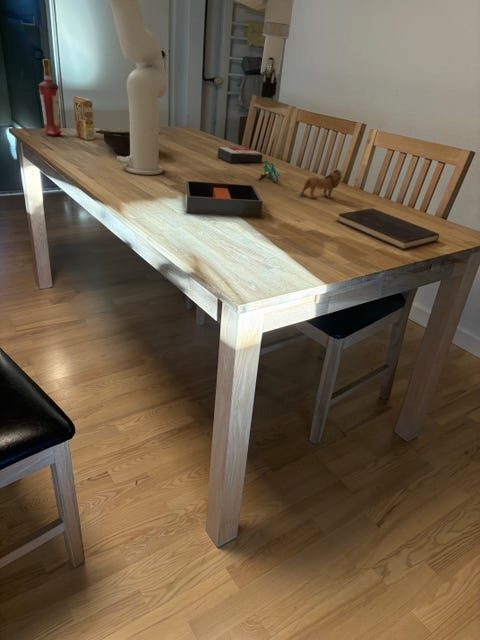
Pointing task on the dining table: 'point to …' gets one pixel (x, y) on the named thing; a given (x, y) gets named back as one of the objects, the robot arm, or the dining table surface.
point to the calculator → (239, 155)
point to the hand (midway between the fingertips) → (268, 96)
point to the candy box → (84, 118)
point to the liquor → (50, 102)
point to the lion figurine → (323, 183)
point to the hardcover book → (388, 228)
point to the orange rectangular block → (221, 193)
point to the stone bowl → (117, 140)
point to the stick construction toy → (269, 172)
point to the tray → (222, 199)
